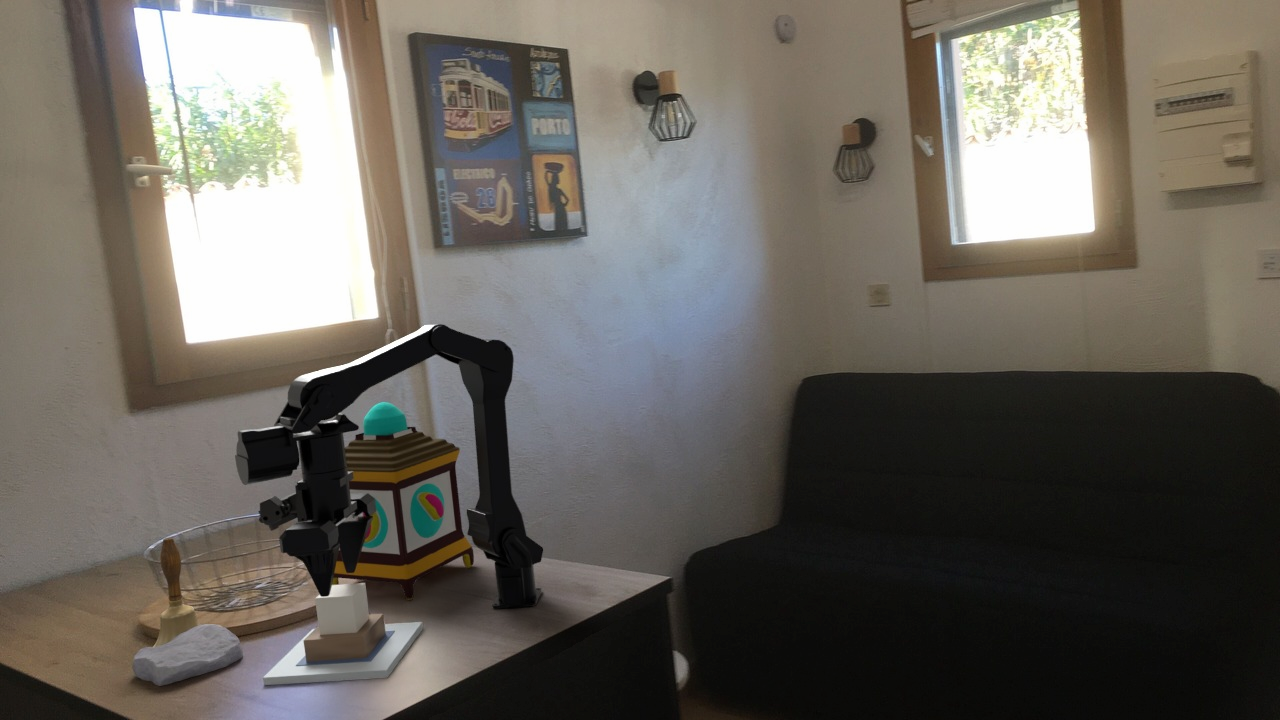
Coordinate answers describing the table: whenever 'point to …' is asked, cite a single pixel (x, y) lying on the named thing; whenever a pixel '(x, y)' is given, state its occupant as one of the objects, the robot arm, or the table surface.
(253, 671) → the table surface
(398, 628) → the board
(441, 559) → the decorative lantern
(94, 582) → the table surface
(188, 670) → the stone block
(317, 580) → the robot arm
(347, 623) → the plastic cube
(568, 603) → the table surface
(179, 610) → the hand bell
